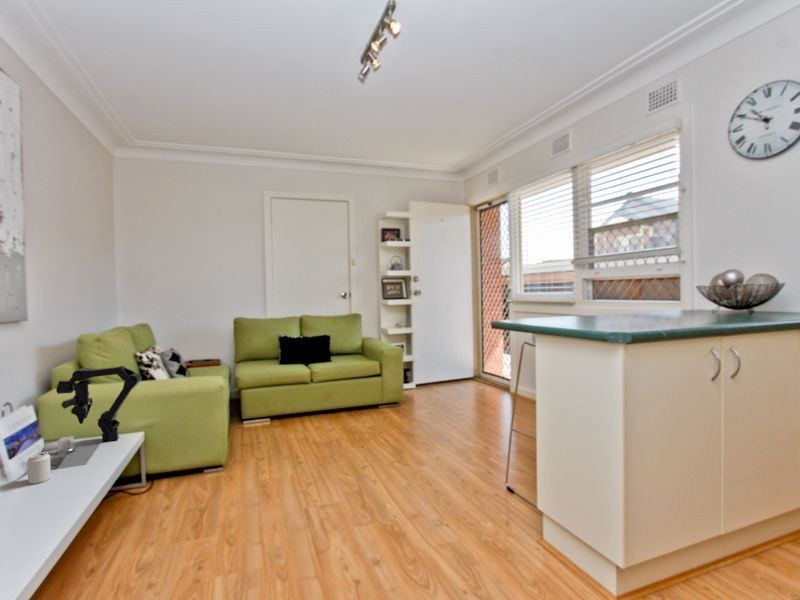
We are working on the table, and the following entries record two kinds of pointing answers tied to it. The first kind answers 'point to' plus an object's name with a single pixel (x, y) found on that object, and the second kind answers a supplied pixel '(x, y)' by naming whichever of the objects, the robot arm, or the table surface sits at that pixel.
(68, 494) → the table surface
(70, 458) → the mat
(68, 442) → the socket
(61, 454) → the ratchet
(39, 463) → the can
